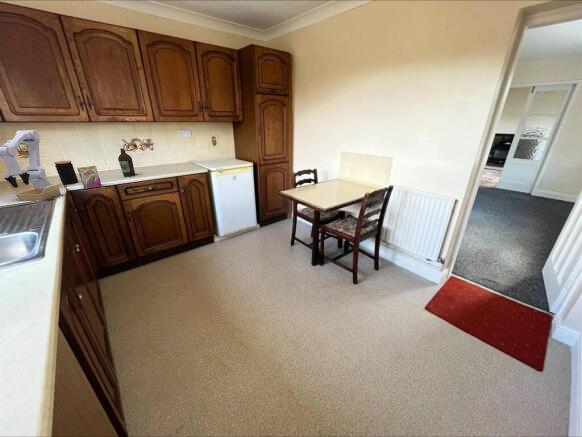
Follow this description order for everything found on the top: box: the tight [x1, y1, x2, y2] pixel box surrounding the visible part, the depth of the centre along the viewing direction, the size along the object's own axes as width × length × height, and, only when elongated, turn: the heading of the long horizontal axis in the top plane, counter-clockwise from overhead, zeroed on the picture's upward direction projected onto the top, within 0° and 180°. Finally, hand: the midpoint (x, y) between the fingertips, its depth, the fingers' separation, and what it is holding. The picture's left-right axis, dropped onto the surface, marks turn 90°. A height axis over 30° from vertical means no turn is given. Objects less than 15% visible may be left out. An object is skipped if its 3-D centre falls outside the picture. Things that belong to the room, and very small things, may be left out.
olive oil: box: [117, 147, 136, 178], centre depth 222 cm, size 11×11×25 cm
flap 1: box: [7, 181, 34, 195], centre depth 165 cm, size 13×6×1 cm
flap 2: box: [42, 181, 63, 193], centre depth 166 cm, size 13×6×1 cm
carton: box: [15, 187, 62, 202], centre depth 167 cm, size 14×16×4 cm
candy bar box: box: [76, 164, 103, 190], centre depth 188 cm, size 11×5×16 cm, turn 141°
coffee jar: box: [53, 160, 79, 186], centre depth 200 cm, size 11×11×18 cm
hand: (21, 186), depth 164 cm, fingers open, 7 cm apart
